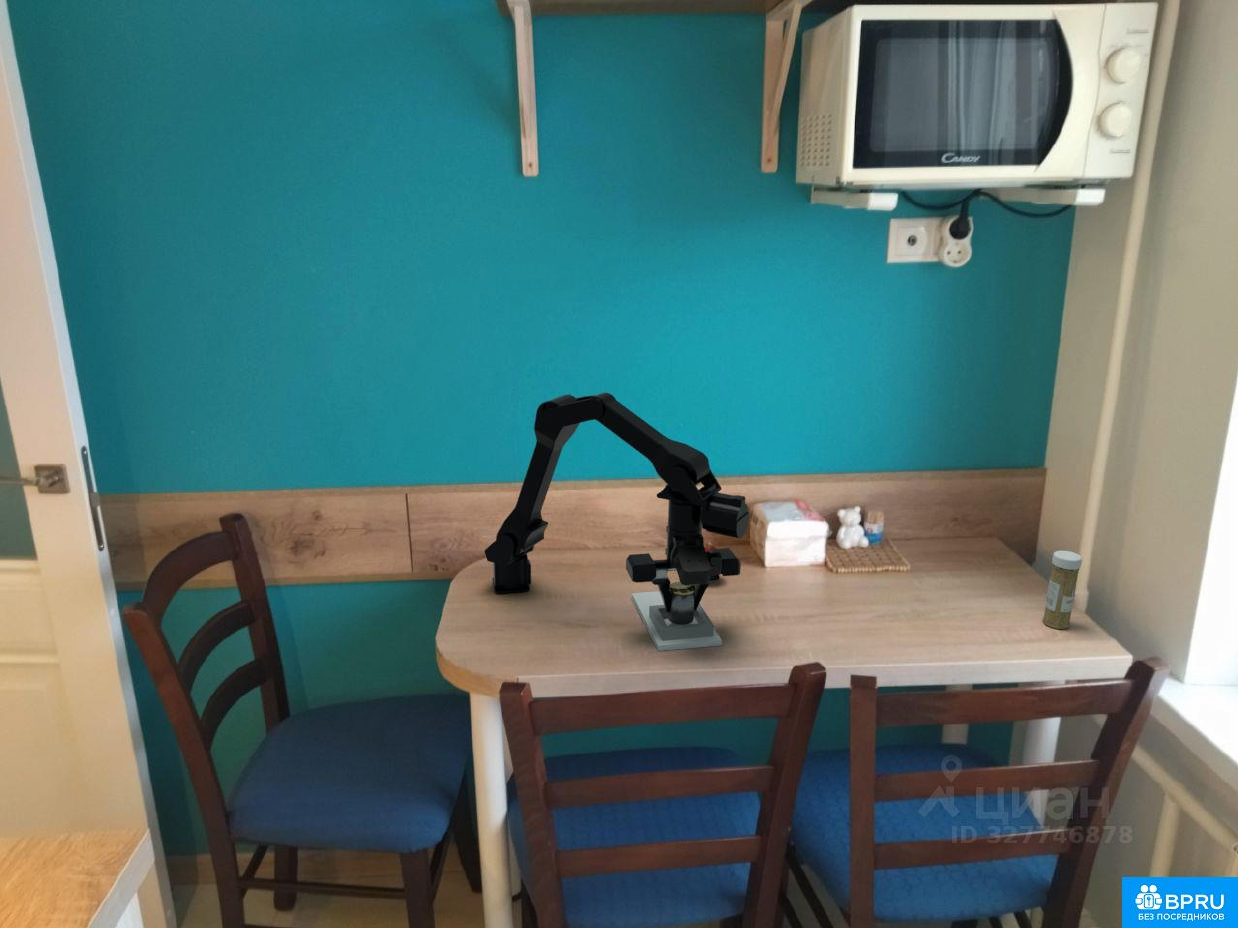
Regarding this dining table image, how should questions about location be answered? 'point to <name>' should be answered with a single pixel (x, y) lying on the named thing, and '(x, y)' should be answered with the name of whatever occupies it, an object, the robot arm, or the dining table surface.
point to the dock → (674, 625)
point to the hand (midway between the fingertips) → (681, 610)
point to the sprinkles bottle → (1061, 589)
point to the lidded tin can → (681, 603)
